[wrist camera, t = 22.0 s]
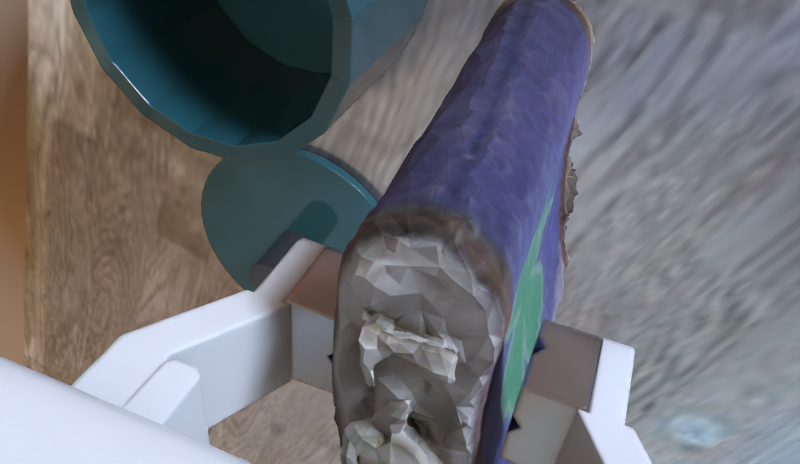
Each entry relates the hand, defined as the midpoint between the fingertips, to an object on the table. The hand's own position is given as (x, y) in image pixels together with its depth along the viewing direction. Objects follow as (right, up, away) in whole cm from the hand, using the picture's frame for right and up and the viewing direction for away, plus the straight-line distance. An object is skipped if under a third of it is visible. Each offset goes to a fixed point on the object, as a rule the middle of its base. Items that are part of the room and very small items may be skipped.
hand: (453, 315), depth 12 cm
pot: (-5, +14, +20) cm, 25 cm away
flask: (+2, +3, +6) cm, 7 cm away
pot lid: (-7, +1, +30) cm, 31 cm away
